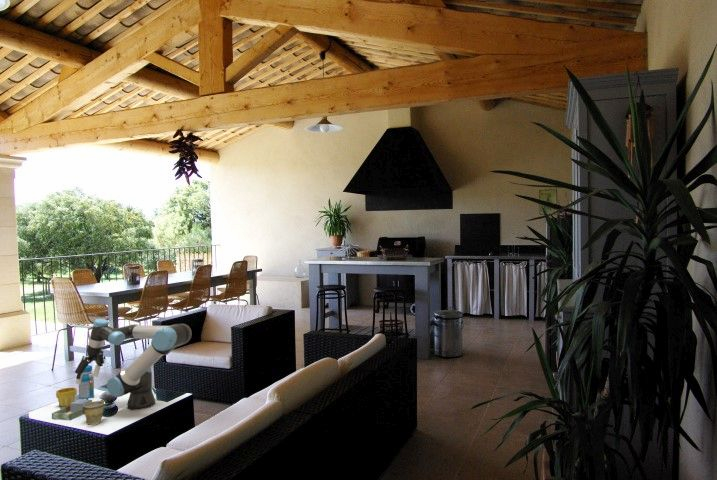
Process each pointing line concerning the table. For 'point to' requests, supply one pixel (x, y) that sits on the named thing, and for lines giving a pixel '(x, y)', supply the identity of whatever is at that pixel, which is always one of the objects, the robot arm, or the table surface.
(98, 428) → the table surface
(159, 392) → the table surface
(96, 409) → the ceramic cup
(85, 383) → the beverage bottle
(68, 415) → the lane box
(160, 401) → the table surface
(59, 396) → the plant pot
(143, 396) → the robot arm
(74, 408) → the slate block
